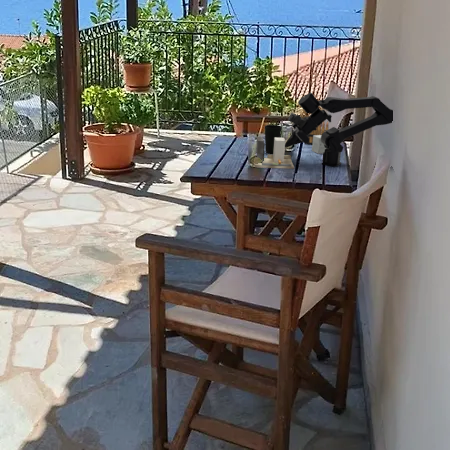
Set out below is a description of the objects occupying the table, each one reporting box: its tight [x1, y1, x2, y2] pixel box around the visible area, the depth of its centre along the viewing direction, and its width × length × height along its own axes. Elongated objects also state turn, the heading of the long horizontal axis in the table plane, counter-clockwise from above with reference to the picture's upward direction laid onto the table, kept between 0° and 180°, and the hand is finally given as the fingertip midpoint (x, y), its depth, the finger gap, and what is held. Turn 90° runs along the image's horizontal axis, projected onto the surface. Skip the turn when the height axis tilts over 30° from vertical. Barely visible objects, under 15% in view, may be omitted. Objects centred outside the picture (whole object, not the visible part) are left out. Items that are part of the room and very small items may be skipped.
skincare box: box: [311, 135, 326, 155], centre depth 291 cm, size 6×6×7 cm
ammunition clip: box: [306, 120, 329, 146], centre depth 303 cm, size 11×2×12 cm, turn 68°
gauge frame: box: [253, 136, 295, 170], centre depth 266 cm, size 16×12×10 cm
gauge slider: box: [273, 137, 286, 164], centre depth 266 cm, size 4×10×9 cm, turn 1°
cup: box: [264, 124, 283, 155], centre depth 284 cm, size 8×8×12 cm
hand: (284, 146), depth 267 cm, fingers closed, pressing on gauge slider
